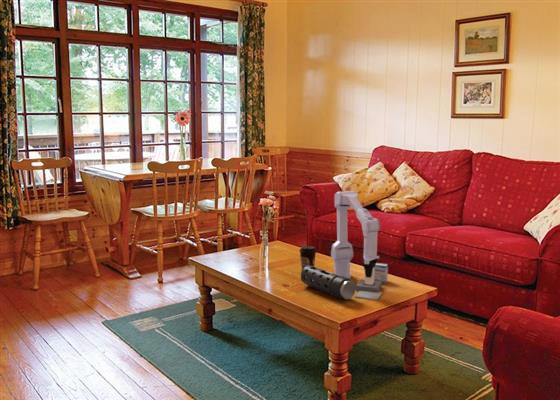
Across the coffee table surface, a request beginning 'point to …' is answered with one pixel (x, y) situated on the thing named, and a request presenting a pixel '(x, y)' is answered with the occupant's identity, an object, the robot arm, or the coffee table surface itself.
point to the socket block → (368, 286)
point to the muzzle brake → (328, 282)
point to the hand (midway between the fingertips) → (369, 275)
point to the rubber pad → (368, 295)
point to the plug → (370, 280)
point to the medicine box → (381, 272)
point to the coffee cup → (307, 256)
